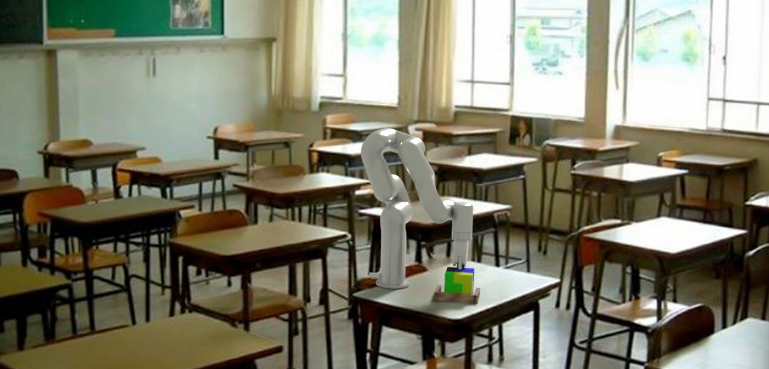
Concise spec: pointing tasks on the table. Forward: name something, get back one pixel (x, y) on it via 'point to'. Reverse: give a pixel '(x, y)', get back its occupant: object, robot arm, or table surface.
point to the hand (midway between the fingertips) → (460, 283)
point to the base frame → (456, 296)
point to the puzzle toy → (459, 280)
